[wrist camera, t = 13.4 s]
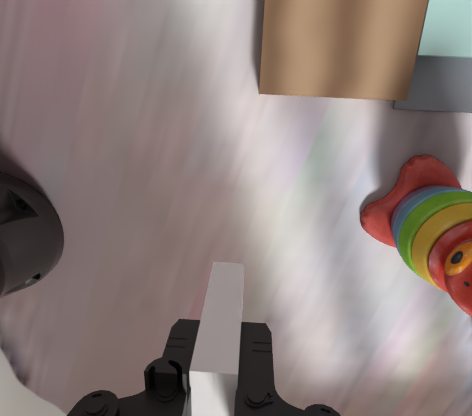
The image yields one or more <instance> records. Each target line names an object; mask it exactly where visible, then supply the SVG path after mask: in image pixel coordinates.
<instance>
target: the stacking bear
mask: <svg viewBox="0 0 472 416" xmlns="http://www.w3.org/2000/svg"><path fill="white" fill-rule="evenodd" d="M360 217H361V226H362V228H363V229H364V230H365V231H366V232H367V233H368V234H370V235H371V236H372V237H374V238H375V239H377V240H379V241H380V242H382V243H384V244H387V245H389V246H393V247H396V248H397V250H398V252H399V254H400V256H401V257H402V259H403V260H404V262H405V263H406V265H407V266H408V267H409V268H410V269H411V270H412V271H414V272H415V273H416V274H417V275H418V276H420V277H421V278H423V279H424V280H426V281H428V282H429V283H431V284H432V285H434V286H435V287H437V288H439V289H441V290H443V291H446V292H448V293H449V294H450V296H451V298H452V299H453V300H454V301H455V303H456V304H457V305H458V306H459V307H460V308H461V309H462V310H463V311H465V312H466V313H467V314H468V315H470V316H471V317H472V192H470V191H467V190H464V189H462V188H461V186H460V184H459V182H458V180H457V178H456V177H455V176H454V174H453V173H452V172H451V171H450V170H449V169H448V168H447V167H446V166H445V165H444V164H443V163H442V162H440V161H439V160H437V159H436V158H434V157H432V156H430V155H422V156H415V157H412V158H411V159H410V160H409V162H407V163H405V164H404V165H403V167H402V169H401V172H400V176H399V180H398V182H397V184H396V186H395V187H394V189H393V190H392V191H391V192H390V193H389V194H388V195H387V196H385V197H384V198H382V199H380V200H378V201H375V202H372V203H370V204H369V205H367V206H366V208H365V210H364V211H363V212H362V213H361V215H360Z"/></svg>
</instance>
